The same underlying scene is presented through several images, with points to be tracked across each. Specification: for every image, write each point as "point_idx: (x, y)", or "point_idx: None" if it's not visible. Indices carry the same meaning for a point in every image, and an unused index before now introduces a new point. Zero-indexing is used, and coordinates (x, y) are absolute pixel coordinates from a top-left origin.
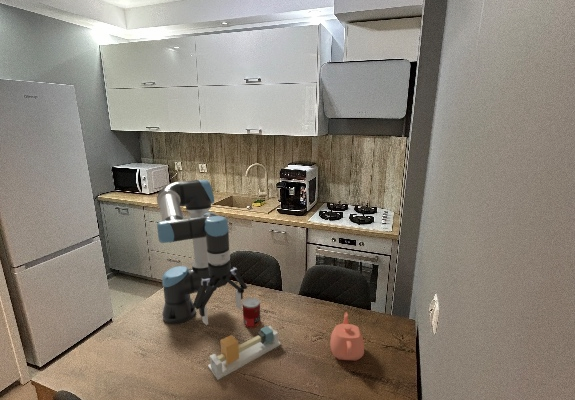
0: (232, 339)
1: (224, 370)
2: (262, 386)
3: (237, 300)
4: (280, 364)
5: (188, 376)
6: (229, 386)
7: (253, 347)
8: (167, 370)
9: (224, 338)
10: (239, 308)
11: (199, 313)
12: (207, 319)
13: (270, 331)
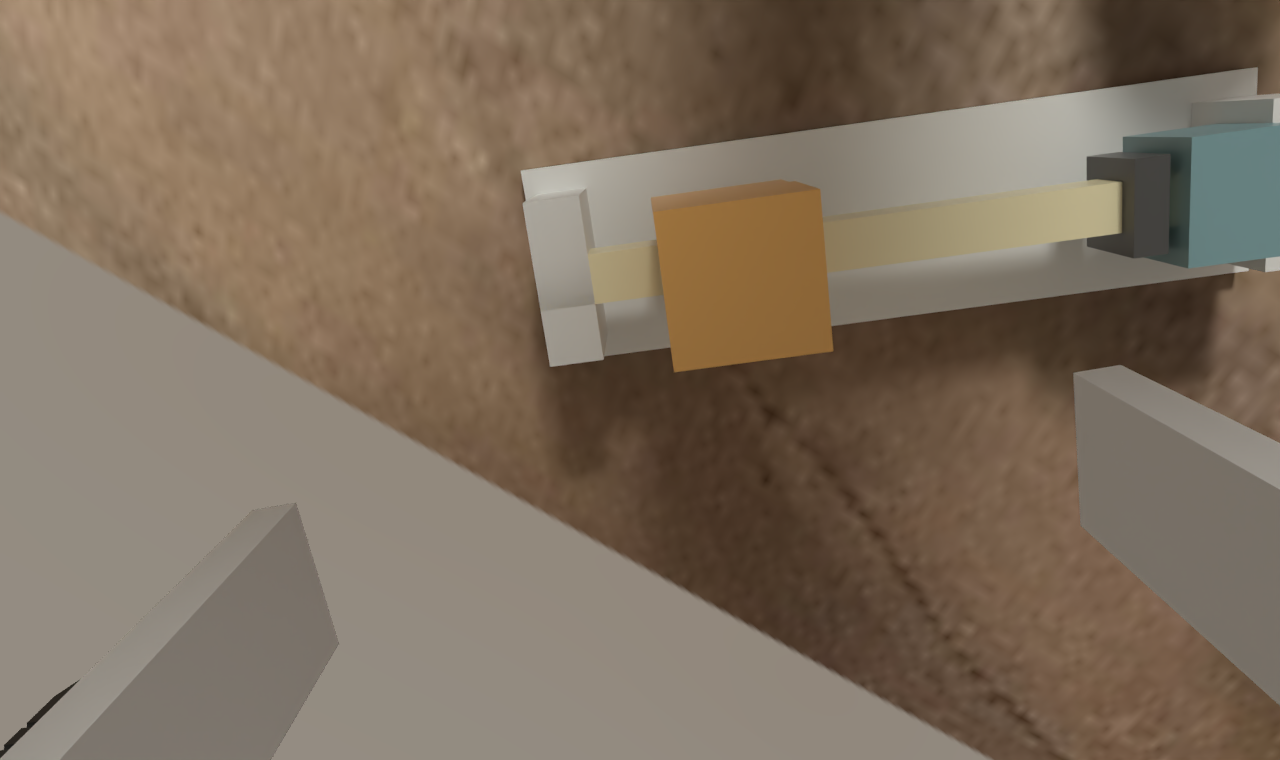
0: (789, 280)
1: (633, 313)
2: (834, 587)
3: (1189, 537)
4: (1076, 476)
5: (338, 187)
6: (617, 464)
7: (993, 182)
8: (164, 2)
9: (711, 208)
10: (1088, 523)
11: (44, 710)
12: (292, 710)
13: (1263, 243)
